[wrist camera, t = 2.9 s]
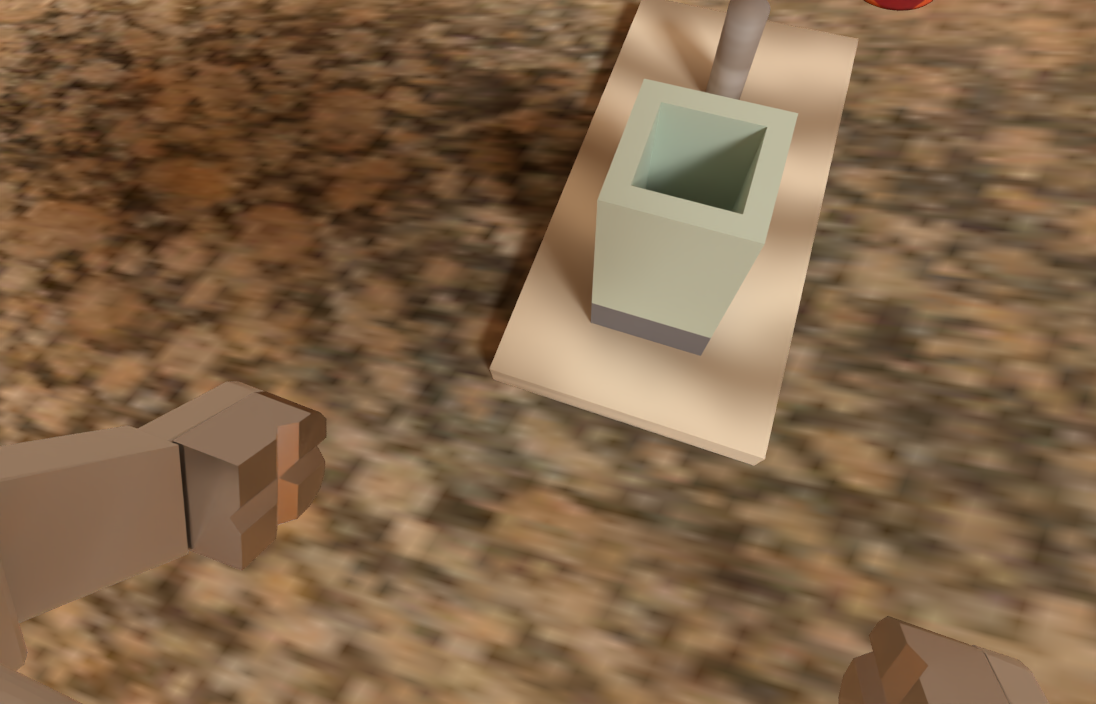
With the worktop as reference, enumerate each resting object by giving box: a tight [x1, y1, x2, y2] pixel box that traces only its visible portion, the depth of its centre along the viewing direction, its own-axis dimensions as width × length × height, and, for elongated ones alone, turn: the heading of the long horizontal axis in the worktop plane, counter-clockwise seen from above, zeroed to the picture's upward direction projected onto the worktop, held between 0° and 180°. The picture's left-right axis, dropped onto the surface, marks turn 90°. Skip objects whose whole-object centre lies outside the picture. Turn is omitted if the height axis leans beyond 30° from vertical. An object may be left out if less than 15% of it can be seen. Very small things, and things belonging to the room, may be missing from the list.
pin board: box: [490, 0, 858, 465], centre depth 26 cm, size 24×12×6 cm, turn 160°
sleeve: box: [591, 79, 798, 356], centre depth 22 cm, size 5×5×9 cm
